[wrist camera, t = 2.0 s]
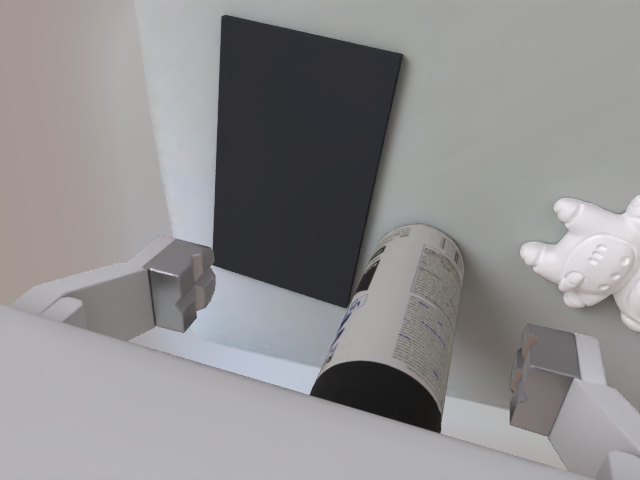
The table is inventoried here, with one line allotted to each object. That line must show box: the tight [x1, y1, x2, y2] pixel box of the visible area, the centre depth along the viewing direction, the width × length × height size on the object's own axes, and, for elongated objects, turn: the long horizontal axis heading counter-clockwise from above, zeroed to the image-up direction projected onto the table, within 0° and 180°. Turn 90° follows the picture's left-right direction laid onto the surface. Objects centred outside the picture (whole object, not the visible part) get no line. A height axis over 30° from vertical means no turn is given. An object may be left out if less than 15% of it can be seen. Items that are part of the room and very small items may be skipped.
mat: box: [212, 15, 403, 308], centre depth 39 cm, size 20×12×1 cm, turn 172°
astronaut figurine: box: [520, 195, 640, 332], centre depth 33 cm, size 9×12×3 cm
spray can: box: [310, 224, 464, 433], centre depth 31 cm, size 7×7×20 cm
